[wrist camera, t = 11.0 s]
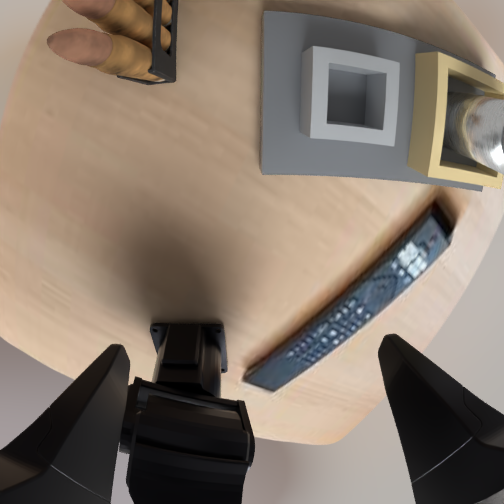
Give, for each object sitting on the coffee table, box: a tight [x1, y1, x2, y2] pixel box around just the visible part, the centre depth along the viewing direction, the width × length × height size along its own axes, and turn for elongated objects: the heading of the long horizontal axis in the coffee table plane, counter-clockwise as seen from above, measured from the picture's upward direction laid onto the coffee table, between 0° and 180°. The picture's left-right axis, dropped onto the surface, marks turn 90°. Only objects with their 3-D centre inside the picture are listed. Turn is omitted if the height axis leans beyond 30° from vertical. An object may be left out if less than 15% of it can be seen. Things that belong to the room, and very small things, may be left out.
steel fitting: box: [442, 91, 504, 175], centre depth 12 cm, size 4×4×8 cm
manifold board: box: [260, 11, 504, 192], centre depth 14 cm, size 10×18×4 cm, turn 90°
